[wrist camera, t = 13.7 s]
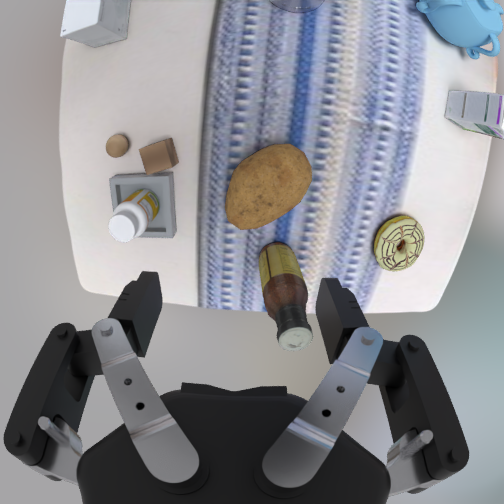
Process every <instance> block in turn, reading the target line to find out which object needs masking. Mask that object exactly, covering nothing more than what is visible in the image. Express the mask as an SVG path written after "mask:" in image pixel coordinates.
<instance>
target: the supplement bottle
mask: <svg viewBox="0 0 504 504" xmlns="http://www.w3.org/2000/svg"><path fill="white" fill-rule="evenodd" d="M159 209H160V203H159V199H158V197H157V196H156V194H155V193H153V192H152V191H150V190H148V189H139V190H137V191H135V192H134V193H132V194H131V195H130V196H129V197H128V198H126V199H125V200H124V201H123V202H122V203H120V204H119V205H118V206H117V207H116V208H115V210H114V212H113V217H112V218H111V219H110V221H109V232H110V234H111V235H112V237H113V238H114V239H116V240H117V241H119V242H128V241H130V240H131V239H132V238H136V237H139V236H140V235H141V234H143V232H144V231H145V230H146V229H147V227H148V226H149V225H150V223H151V222H152V221H153V219H154V218H155V217H156V215H157V214H158V212H159Z"/></svg>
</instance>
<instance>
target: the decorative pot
mask: <svg viewBox="0 0 504 504" xmlns="http://www.w3.org/2000/svg"><path fill="white" fill-rule="evenodd" d="M419 1H420V2H418V3H416V7H417V9H418V10H419V11H420V12H422V13H425V14H426V16H427V18H428V19H429V21H430V22H431V24H432V25H433V27H434V28H435V30H436V31H437V32H438V33H439V34H440V36H442V37H443V38H444V39H445V40H447V41H448V42H450V43H451V44H454V45H456V46H459V47H464V48H466V51H467V53H468V55H469V56H470V57H471V58H472V59H478V58H479V56H480V55H479V52H480V53H482V54H484V55H487V56H492V57H494V56H497V55H498V54H499V52H500V44H499V40H498V38H497V36H498V35H499V34H500V33H501V32H502V30H503V25H502V20H501V16H500V15H501V14H503V13H504V12H503V9H502V7H501V6H500V5H499V4H497V3H494V1H493V0H419ZM490 42H492V43H493V49H492V51H488V50H485V49H482V48H480V46H483V45H486V44H489V43H490ZM473 50H474V52H473ZM474 53H475V54H474Z"/></svg>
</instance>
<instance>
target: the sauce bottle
mask: <svg viewBox="0 0 504 504" xmlns="http://www.w3.org/2000/svg"><path fill="white" fill-rule="evenodd" d="M259 270H260V277H261V285H262V293H263V298H264V303H265V307H266V310H267V312H268V315H269V316H270V317H271V318H273V319H274V320H275V321H276V323H277V327H278V332H277V339H278V343H279V345H280V347H282V348H283V349H284V350H287V351H296V350H301V349H304V348H306V347H307V346H308V345H309V344H310V343H311V341H312V339H313V334H312V329H311V327H310V325H309V324H308V322H307V318H306V303H307V300H308V290H307V287H306V284H305V281H304V278H303V276H302V273H301V270H300V267H299V265H298V262H297V259H296V256H295V254H294V252H293V251H292V249H291V248H290V247H289V246H287V245H285V244H283V243H280V242H275V243H271V244H269V245H267V246H265V247H264V248H263V249H262V251H261V253H260V256H259Z"/></svg>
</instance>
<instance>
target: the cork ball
mask: <svg viewBox="0 0 504 504" xmlns="http://www.w3.org/2000/svg"><path fill="white" fill-rule="evenodd" d="M127 149H128V141H127V139H126V138H125V137H124V136H123V135H119V134H118V135H113V136H112V137H110V138H109V139H108V141H107V143H106V151H107V153H108V154H109V155H110V156H111V157H115V158H117V157H121V156H122V155H124V154H125V153H126V151H127Z"/></svg>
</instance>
